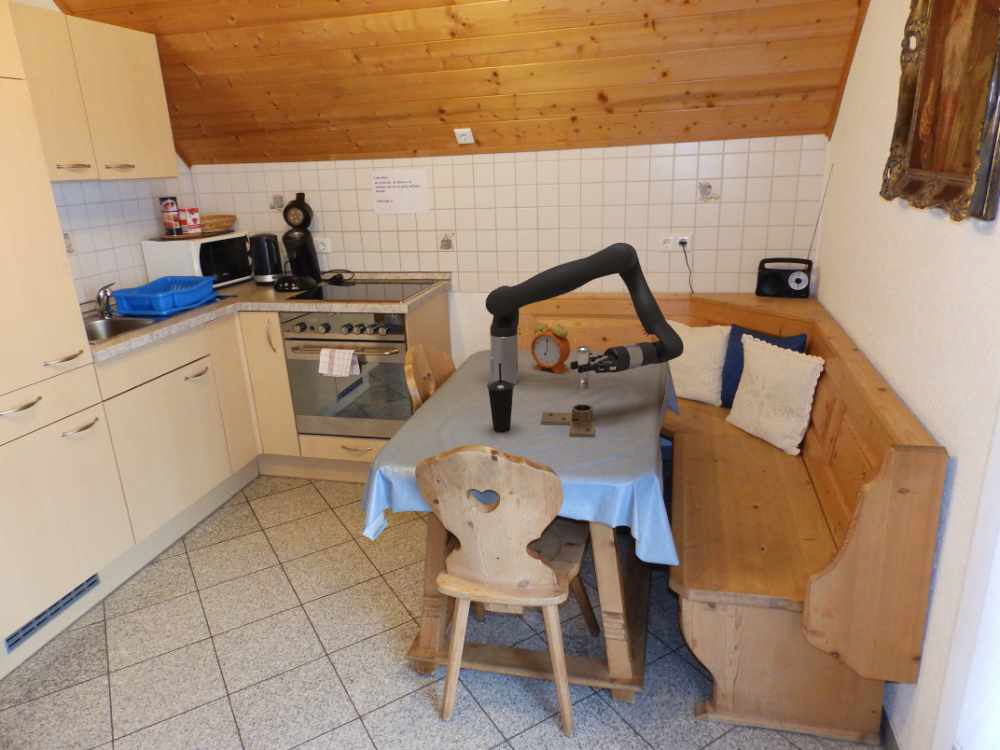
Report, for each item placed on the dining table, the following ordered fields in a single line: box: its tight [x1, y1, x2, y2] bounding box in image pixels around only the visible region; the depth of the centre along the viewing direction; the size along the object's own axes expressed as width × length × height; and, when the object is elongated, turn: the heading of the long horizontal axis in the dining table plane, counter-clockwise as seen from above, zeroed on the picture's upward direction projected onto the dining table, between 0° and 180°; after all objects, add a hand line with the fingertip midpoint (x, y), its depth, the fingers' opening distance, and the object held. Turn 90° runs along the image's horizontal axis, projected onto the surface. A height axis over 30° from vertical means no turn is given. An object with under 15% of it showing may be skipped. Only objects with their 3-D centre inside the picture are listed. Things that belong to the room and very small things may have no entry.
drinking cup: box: [486, 363, 515, 434], centre depth 192 cm, size 8×8×20 cm
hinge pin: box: [575, 345, 591, 390], centre depth 194 cm, size 4×4×12 cm
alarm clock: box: [530, 315, 571, 375], centre depth 243 cm, size 13×6×20 cm, turn 55°
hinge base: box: [540, 403, 596, 438], centre depth 195 cm, size 16×16×4 cm
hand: (574, 367), depth 193 cm, fingers closed on hinge pin, 3 cm apart
